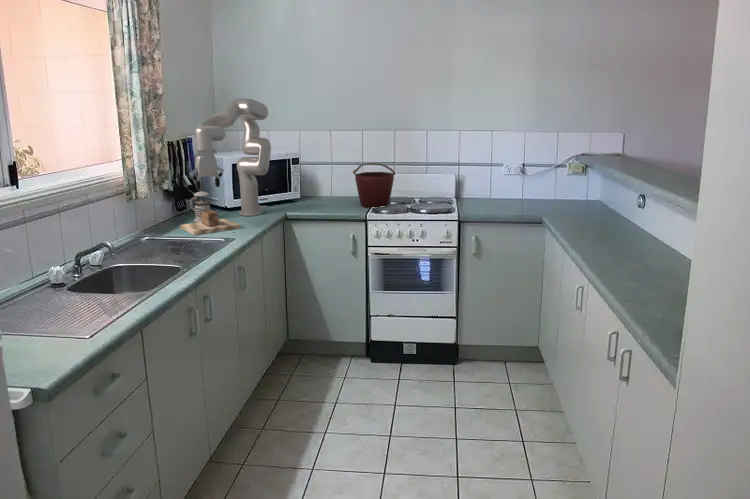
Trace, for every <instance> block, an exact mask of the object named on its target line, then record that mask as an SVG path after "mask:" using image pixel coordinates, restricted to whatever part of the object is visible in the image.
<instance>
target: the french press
mask: <svg viewBox="0 0 750 499" xmlns="http://www.w3.org/2000/svg"><path fill="white" fill-rule="evenodd" d="M201 179H202V178H200V180H199V181H200V185H202V181H201ZM209 195H210V193H209V192H206V191H202V190H199V191H198V192H195V193H194V194H193V197H191V198H190V200H189V202H190V204H189V206H190V208H191V209H193V208H194V209H193V211H194V213H195V218H194V220H193V222H195V223H197V222H202V218H201V211H207V210H211V205H210V201H208V200H198V201H195V205H194V206H193V200H196V197H209Z"/></svg>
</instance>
